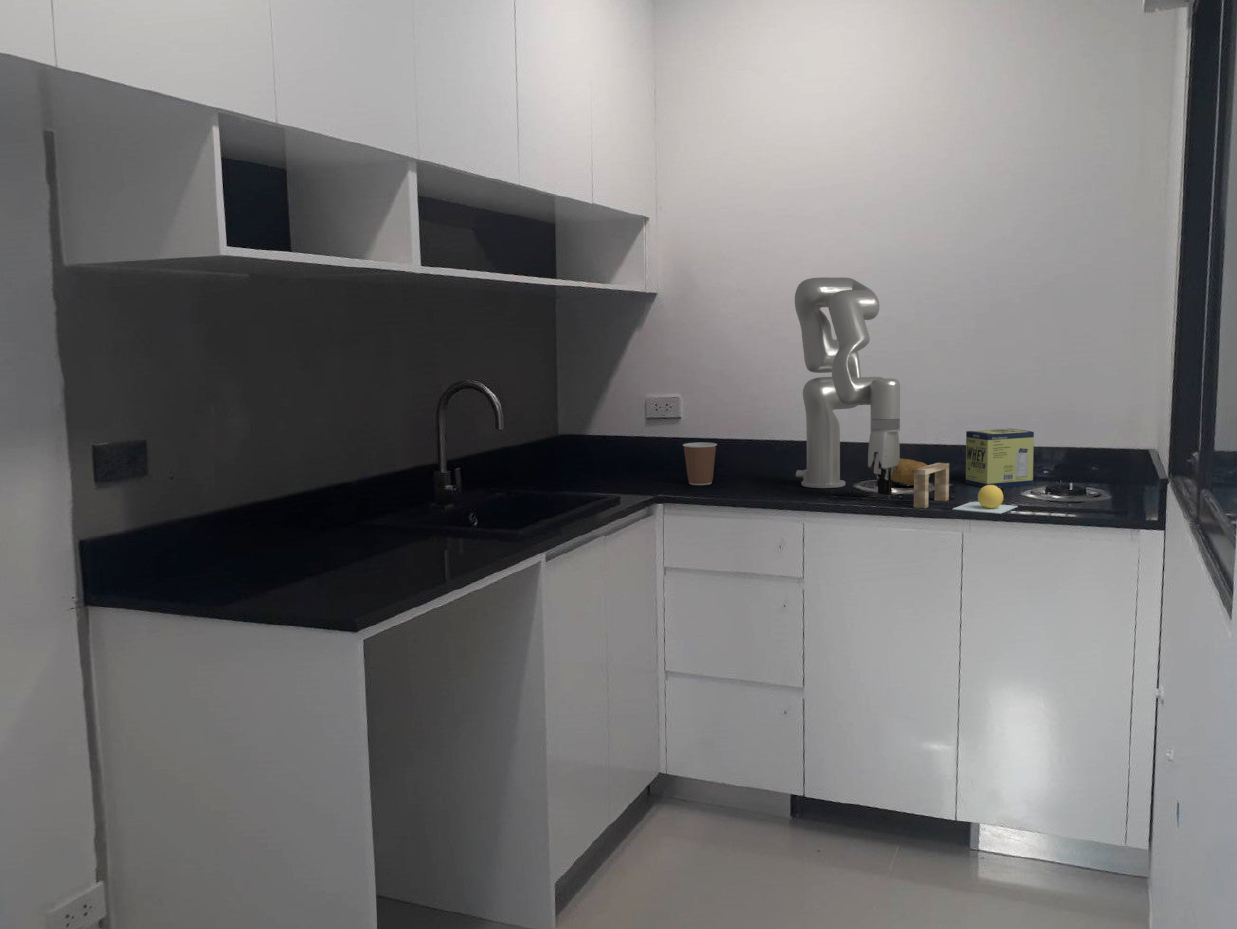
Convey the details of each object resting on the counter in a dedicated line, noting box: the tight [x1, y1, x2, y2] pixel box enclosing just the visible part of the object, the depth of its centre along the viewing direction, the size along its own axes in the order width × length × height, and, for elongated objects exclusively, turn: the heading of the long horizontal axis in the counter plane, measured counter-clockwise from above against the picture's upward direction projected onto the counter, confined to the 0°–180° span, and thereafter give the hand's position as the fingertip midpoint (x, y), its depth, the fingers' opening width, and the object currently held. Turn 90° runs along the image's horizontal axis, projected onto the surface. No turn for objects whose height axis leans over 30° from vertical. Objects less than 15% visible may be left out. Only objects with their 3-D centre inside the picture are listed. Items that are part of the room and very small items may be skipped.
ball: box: [977, 485, 1004, 509], centre depth 259 cm, size 6×6×6 cm
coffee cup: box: [682, 442, 718, 486], centre depth 316 cm, size 10×10×12 cm
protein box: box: [965, 428, 1035, 489], centre depth 297 cm, size 10×16×16 cm
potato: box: [892, 457, 931, 485], centre depth 298 cm, size 10×14×8 cm
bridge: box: [913, 462, 950, 509], centre depth 269 cm, size 3×15×10 cm, turn 140°
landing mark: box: [951, 501, 1018, 515], centre depth 261 cm, size 12×12×1 cm
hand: (884, 493), depth 278 cm, fingers closed
